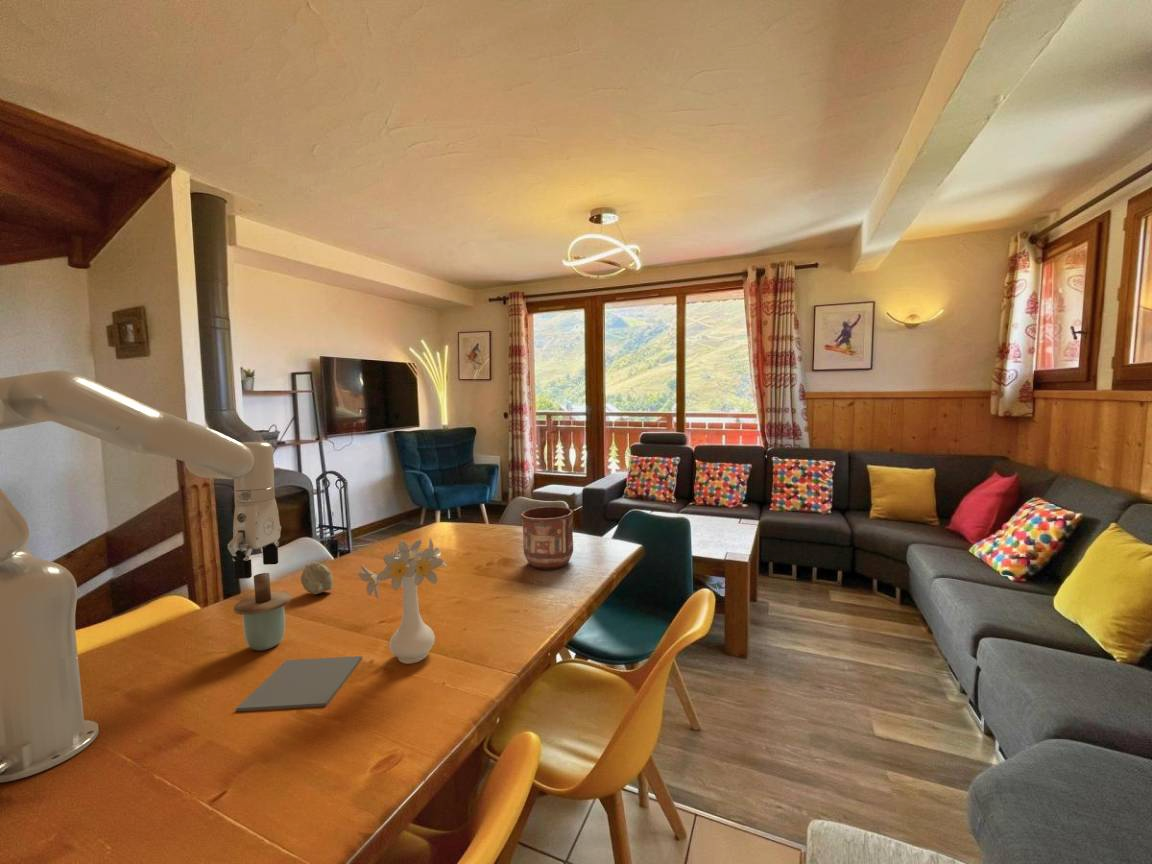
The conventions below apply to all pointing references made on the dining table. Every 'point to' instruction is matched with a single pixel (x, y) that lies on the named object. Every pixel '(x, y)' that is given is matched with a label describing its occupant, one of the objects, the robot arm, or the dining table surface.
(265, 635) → the cup
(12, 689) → the robot arm
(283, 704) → the mat
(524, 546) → the pottery
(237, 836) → the dining table surface
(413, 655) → the flower vase
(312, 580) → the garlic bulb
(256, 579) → the lid
